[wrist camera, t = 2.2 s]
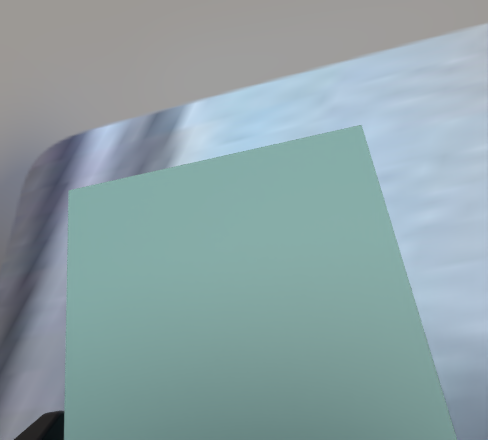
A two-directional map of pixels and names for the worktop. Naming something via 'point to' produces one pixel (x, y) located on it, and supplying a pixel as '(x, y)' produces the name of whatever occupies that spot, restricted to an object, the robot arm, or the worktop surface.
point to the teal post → (246, 304)
